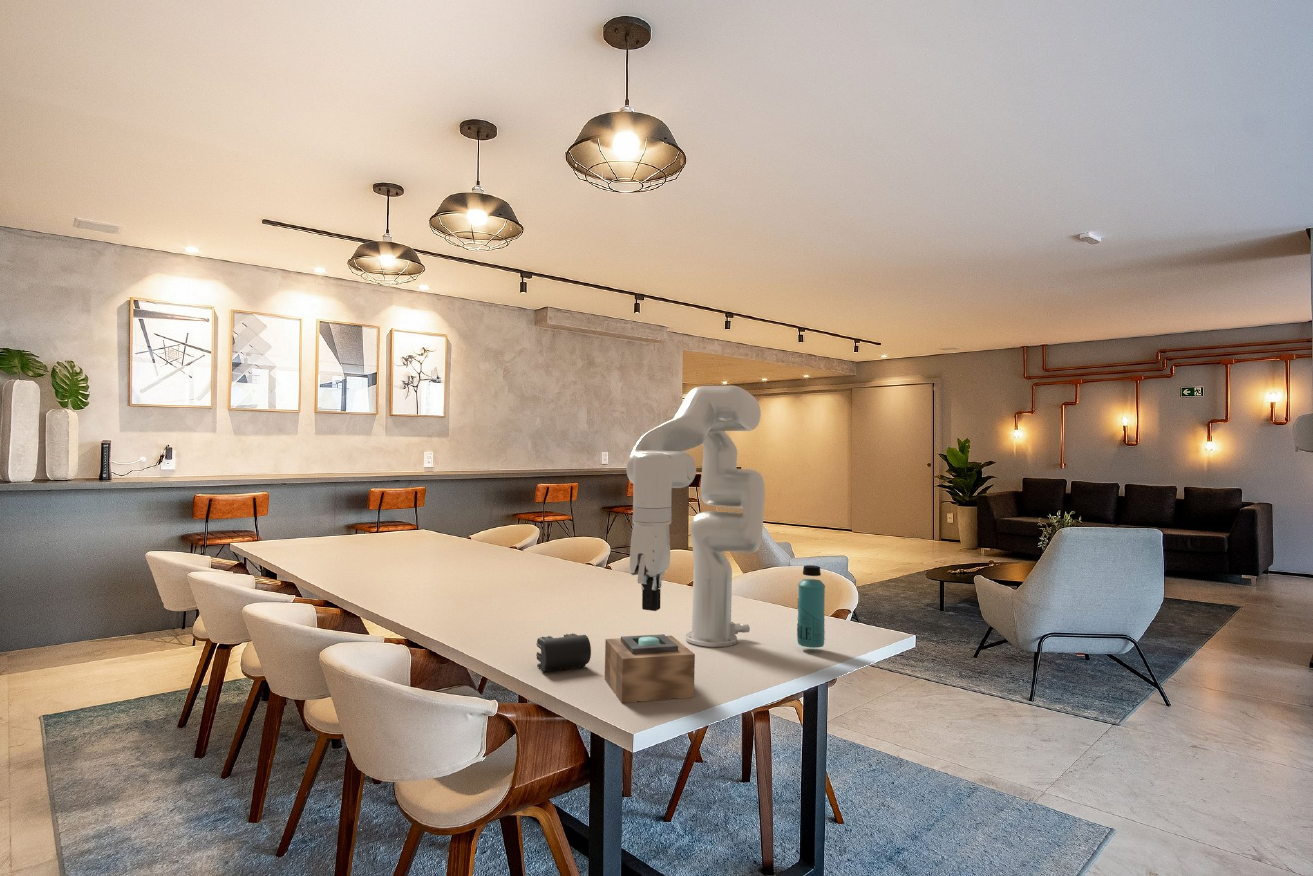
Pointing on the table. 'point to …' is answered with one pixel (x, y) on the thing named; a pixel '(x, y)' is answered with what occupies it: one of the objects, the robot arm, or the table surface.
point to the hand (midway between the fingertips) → (651, 609)
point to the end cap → (563, 652)
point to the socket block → (649, 669)
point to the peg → (648, 641)
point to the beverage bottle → (811, 609)
